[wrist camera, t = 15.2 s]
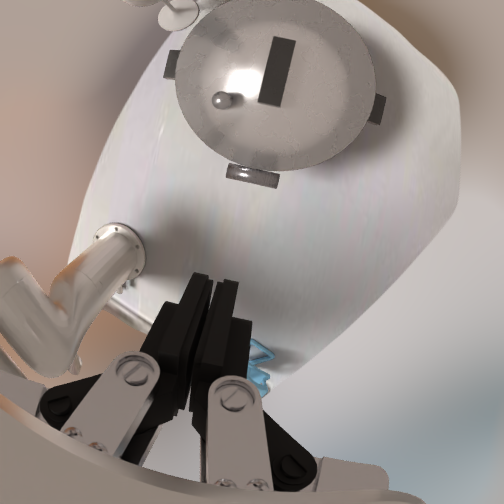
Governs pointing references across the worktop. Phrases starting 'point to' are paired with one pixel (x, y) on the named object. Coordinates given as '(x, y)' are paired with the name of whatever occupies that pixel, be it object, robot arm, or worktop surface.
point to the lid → (274, 85)
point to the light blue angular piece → (256, 374)
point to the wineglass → (172, 12)
